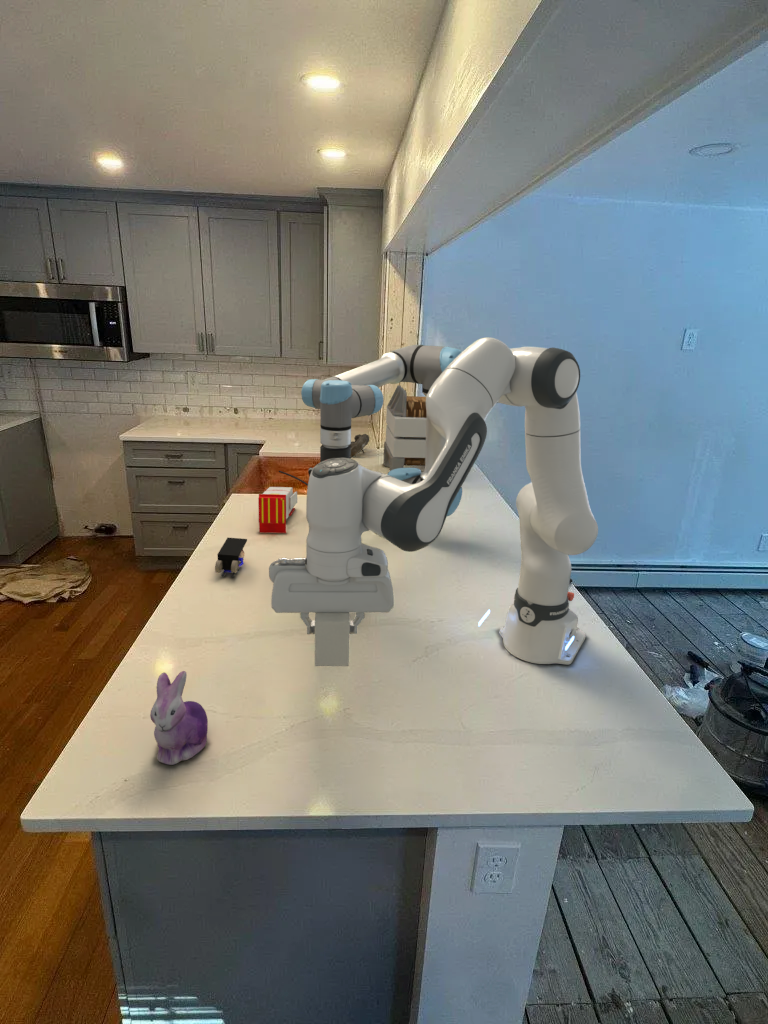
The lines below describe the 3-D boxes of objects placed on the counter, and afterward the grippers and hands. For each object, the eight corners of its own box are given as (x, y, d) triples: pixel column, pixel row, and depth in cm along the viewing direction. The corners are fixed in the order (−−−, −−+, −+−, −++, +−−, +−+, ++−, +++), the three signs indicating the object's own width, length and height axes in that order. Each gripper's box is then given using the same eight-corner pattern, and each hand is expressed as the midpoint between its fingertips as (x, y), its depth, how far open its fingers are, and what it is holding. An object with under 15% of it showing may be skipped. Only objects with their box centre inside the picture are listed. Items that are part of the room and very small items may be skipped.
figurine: (158, 776, 94) (149, 701, 89) (151, 736, 102) (142, 665, 97) (216, 758, 98) (211, 685, 93) (204, 721, 107) (199, 653, 102)
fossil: (345, 440, 316) (366, 424, 311) (356, 453, 319) (377, 438, 314) (339, 453, 297) (361, 437, 292) (350, 467, 300) (373, 452, 295)
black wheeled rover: (238, 584, 162) (249, 557, 175) (236, 562, 158) (247, 536, 172) (215, 584, 161) (227, 556, 175) (212, 561, 158) (225, 535, 171)
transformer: (382, 463, 289) (386, 382, 275) (445, 464, 293) (451, 384, 279) (390, 482, 257) (394, 392, 243) (460, 483, 261) (468, 394, 247)
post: (324, 527, 152) (324, 497, 149) (345, 527, 152) (345, 498, 149) (314, 666, 94) (314, 621, 91) (348, 666, 94) (349, 621, 91)
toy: (299, 482, 220) (288, 496, 190) (299, 516, 222) (288, 534, 193) (267, 481, 219) (252, 495, 190) (268, 515, 222) (253, 533, 193)
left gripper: (296, 448, 135) (297, 537, 143) (374, 449, 137) (371, 537, 145) (298, 440, 142) (299, 526, 150) (372, 442, 144) (369, 526, 152)
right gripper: (266, 566, 88) (268, 643, 93) (397, 567, 90) (392, 642, 95) (270, 550, 94) (272, 622, 99) (393, 551, 96) (389, 622, 101)
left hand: (334, 531), depth 148 cm, fingers closed on post, 6 cm apart
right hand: (332, 632), depth 97 cm, fingers closed on post, 5 cm apart
